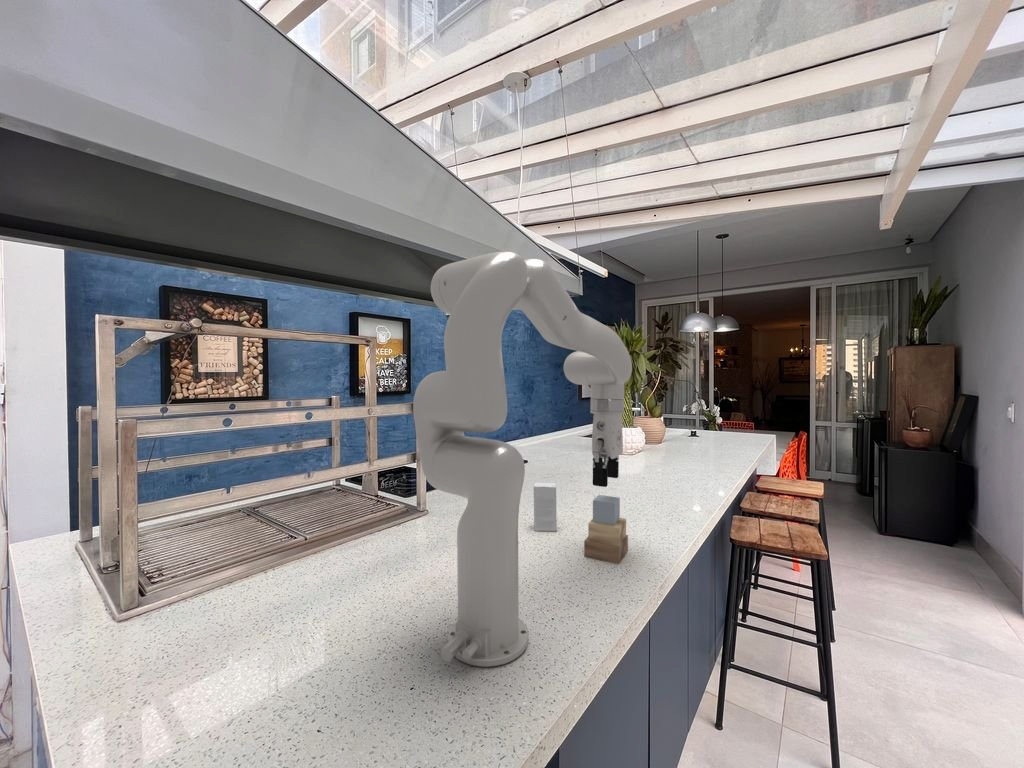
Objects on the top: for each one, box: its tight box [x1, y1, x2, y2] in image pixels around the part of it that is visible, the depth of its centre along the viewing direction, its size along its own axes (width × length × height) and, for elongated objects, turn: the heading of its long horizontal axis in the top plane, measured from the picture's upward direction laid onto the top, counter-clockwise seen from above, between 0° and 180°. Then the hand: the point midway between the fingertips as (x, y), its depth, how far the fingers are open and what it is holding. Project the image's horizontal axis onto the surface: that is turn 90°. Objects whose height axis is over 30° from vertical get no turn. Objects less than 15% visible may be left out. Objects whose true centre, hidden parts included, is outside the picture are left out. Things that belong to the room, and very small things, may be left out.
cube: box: [592, 494, 621, 526], centre depth 98 cm, size 5×5×5 cm
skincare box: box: [533, 482, 558, 532], centre depth 114 cm, size 6×4×12 cm
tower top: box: [587, 517, 627, 546], centre depth 98 cm, size 7×7×4 cm
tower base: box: [583, 534, 629, 565], centre depth 98 cm, size 8×8×4 cm
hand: (606, 481), depth 97 cm, fingers open, 9 cm apart
